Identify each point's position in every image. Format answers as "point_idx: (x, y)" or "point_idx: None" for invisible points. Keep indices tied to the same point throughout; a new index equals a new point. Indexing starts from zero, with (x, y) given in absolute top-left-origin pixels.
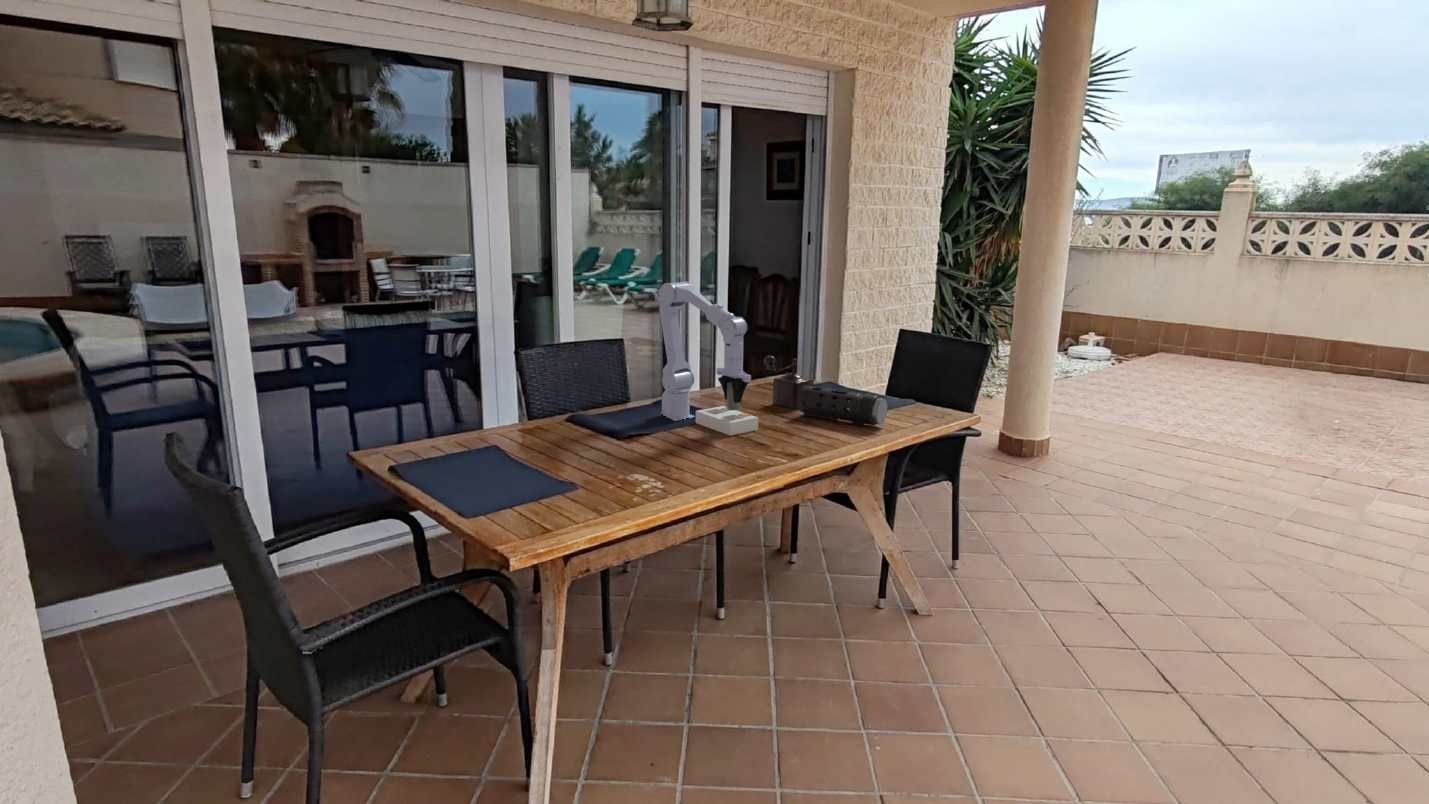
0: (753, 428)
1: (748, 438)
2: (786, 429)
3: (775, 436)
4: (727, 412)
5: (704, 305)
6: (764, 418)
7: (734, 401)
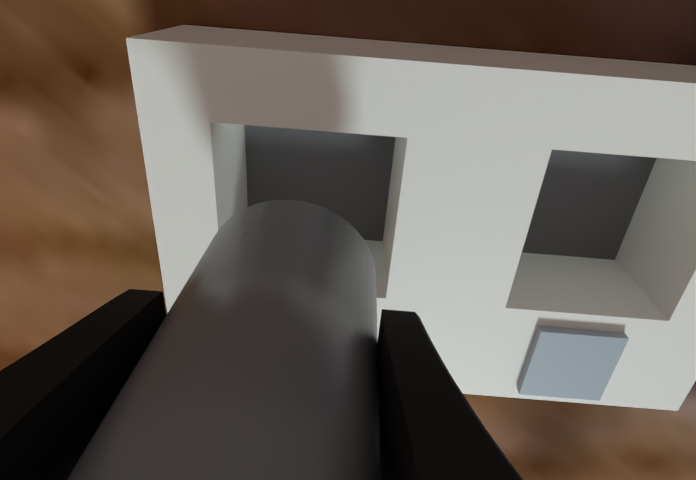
0: None
1: (36, 96)
2: None
3: (11, 280)
4: (491, 303)
5: None
6: None
7: (145, 298)
